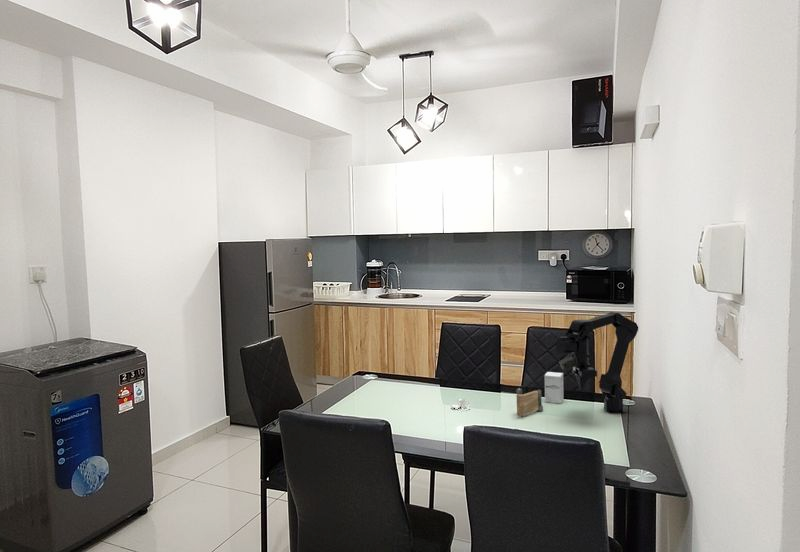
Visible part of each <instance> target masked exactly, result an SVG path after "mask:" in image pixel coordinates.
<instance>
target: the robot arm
mask: <svg viewBox="0 0 800 552" xmlns="http://www.w3.org/2000/svg"><path fill="white" fill-rule="evenodd" d="M609 325H612V327H614V328H615V331H614V332H615V336H616V342H615V345H614V349H613V352H612V356H611V359H610V362H609V367H608V369H607V372H605V373H601V374H600V379H599V381H598V387H599V389H600V391H601V395H603V396H604V399H603V409H604V410H605V411H606V412H608V413H609V414H622V413H623V414H624V413H625V410H624V402H623V401H624V399H626V398H627V394H628V393H627V391H625V390H624V389H623V388H622V386H623V381H622V376H621V374H622V371H623V367H624V363H625V359H626V355H627V353H628V348H629V346H630V343H631V342H632V341H633V340H634V339H635V338H636V336H637V334H638V332H639V326H638V324H637V323H636V322H635V321H632V320H631V319H629V318H627V317H625V316H623V314H621V313H620V312H615V311H610V312H608V313H606V314H602V315H598V316H595V317H593V318H589V319H574V320H572V321H571V322H570V324H569V327H568V329H567V331H566V333H565V334H564V336H559V337H558V339H557V341H556V343H555V350H556V351H557V353H558V354H560V355H564V354H570V353H571V354H570V356H569V357H566V358H563V359H561V360H559V361H558V363H559V366H560V368H561V370H563V371H568V370H570V369H572V370H570V371H571V372H572V373H573V374H574V375H575V377H576V381H577V383H578V386H579V389H580V390H583V389H584V387H585V386H586V384H587V382H588V380H589V378H594V377H598V371H597V369H595V368H594V367H591V364H590V363H589V358H590V357H591V354H590V353H589V341H590V340H593V337H591V336H590V334H593V332H594V331H595V330H596V329H599V328H604V327H605V326H609Z"/></svg>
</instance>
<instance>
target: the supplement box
mask: <svg viewBox="0 0 800 552" xmlns="http://www.w3.org/2000/svg"><path fill="white" fill-rule="evenodd" d="M563 401H564V372H554V371H546V373H545V374H544V403H553V404H562V403H563Z"/></svg>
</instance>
